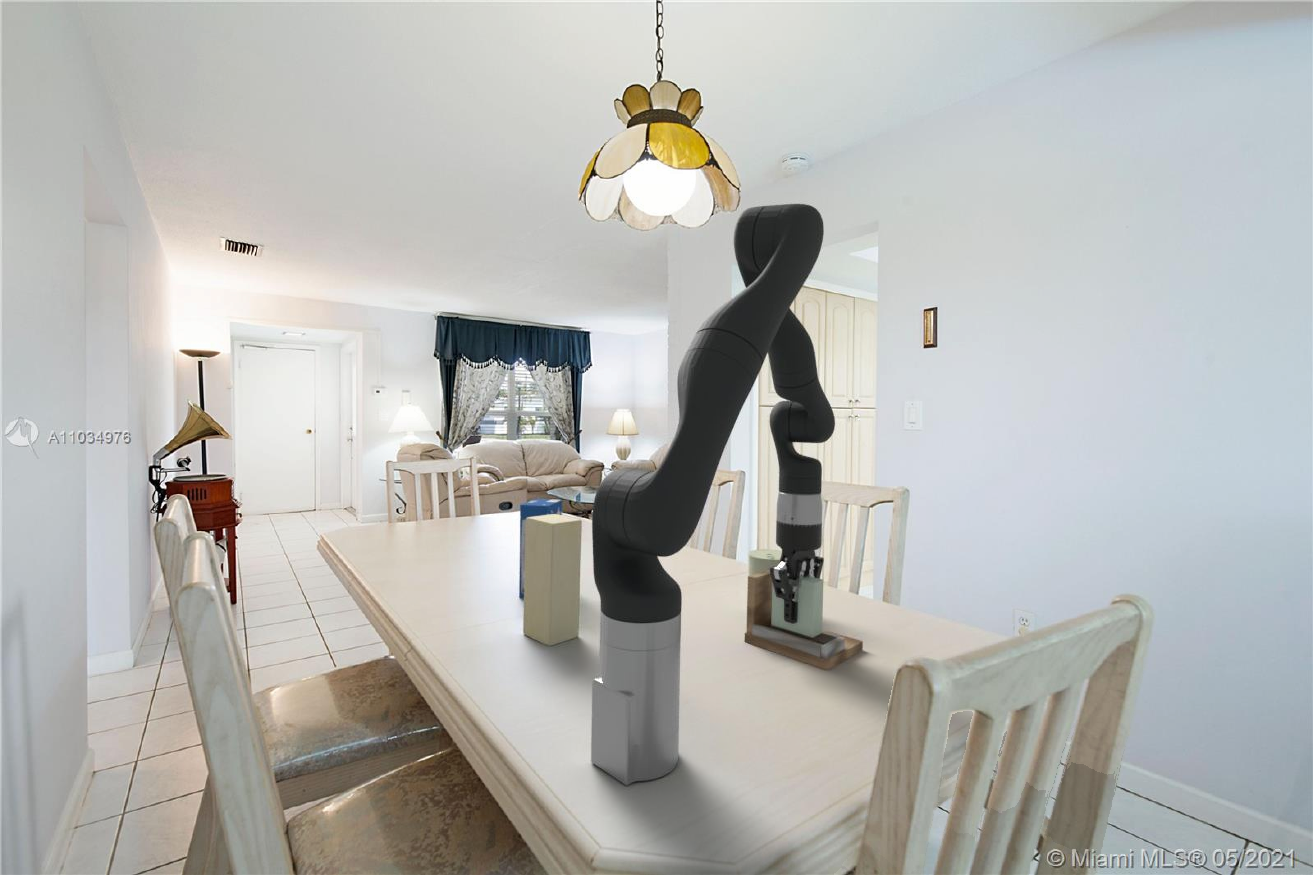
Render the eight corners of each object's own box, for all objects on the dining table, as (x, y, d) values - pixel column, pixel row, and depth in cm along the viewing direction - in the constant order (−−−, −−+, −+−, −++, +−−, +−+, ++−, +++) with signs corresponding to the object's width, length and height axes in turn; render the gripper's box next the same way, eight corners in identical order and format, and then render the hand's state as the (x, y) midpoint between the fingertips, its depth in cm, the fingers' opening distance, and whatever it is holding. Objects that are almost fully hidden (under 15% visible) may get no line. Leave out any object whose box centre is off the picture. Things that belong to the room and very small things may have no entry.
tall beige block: (583, 635, 105) (585, 518, 105) (549, 647, 100) (551, 523, 99) (555, 624, 111) (557, 513, 110) (522, 634, 105) (523, 517, 105)
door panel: (812, 637, 97) (814, 583, 97) (771, 624, 103) (772, 573, 102) (821, 633, 99) (823, 579, 99) (781, 620, 105) (782, 570, 104)
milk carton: (535, 584, 136) (536, 498, 136) (561, 586, 135) (562, 499, 135) (519, 598, 126) (520, 504, 126) (547, 599, 125) (548, 505, 125)
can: (744, 614, 118) (746, 555, 118) (748, 601, 127) (750, 545, 127) (791, 619, 116) (793, 558, 116) (792, 605, 125) (794, 548, 125)
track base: (827, 670, 93) (829, 597, 92) (744, 641, 104) (746, 576, 104) (862, 649, 101) (864, 583, 101) (782, 625, 113) (784, 565, 112)
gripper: (796, 527, 92) (793, 636, 93) (839, 517, 102) (836, 616, 103) (756, 520, 98) (753, 623, 98) (801, 511, 108) (799, 605, 108)
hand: (796, 619), depth 101 cm, fingers closed on door panel, 3 cm apart
